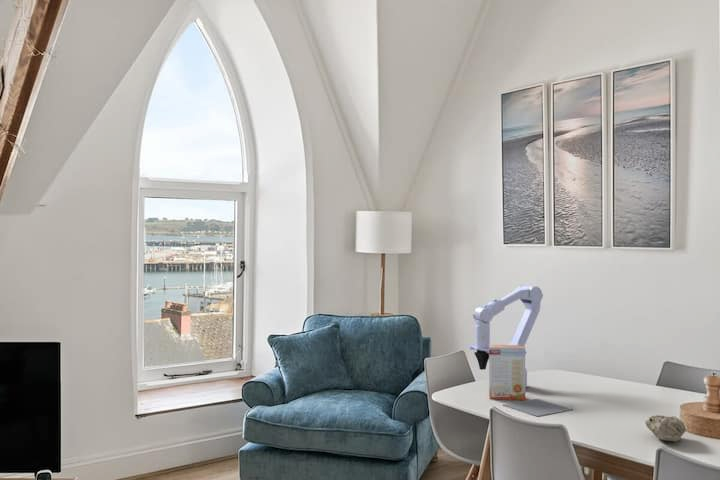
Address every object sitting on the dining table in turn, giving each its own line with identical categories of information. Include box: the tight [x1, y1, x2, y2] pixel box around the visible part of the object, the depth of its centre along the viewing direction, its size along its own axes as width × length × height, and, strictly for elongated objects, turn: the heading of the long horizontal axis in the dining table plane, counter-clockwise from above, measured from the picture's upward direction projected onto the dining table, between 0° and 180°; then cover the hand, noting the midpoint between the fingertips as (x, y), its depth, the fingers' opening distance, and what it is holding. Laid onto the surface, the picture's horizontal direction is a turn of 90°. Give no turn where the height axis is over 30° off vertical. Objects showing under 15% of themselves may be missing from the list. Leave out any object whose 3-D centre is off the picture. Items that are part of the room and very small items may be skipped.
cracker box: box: [488, 344, 526, 401], centre depth 266 cm, size 14×6×21 cm, turn 78°
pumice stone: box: [645, 414, 687, 443], centre depth 212 cm, size 14×12×8 cm
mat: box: [502, 398, 574, 418], centre depth 252 cm, size 18×18×1 cm
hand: (482, 369), depth 279 cm, fingers closed
